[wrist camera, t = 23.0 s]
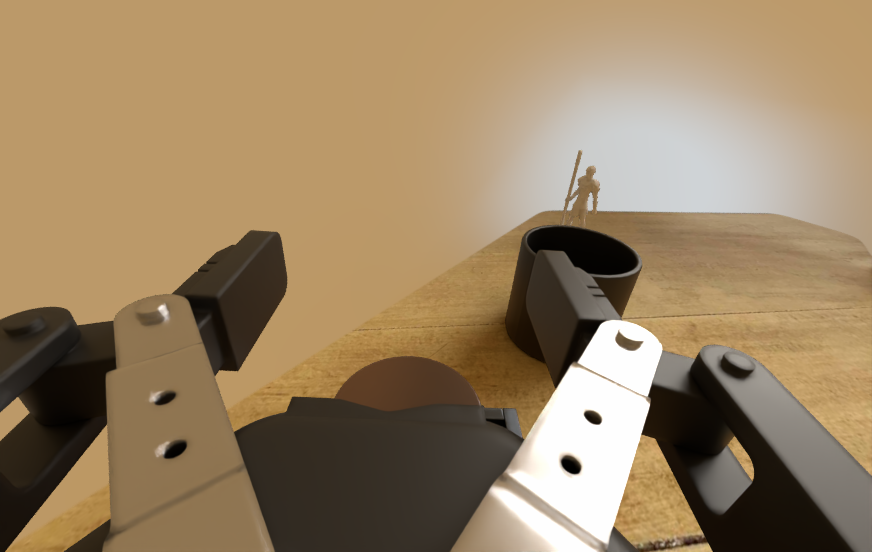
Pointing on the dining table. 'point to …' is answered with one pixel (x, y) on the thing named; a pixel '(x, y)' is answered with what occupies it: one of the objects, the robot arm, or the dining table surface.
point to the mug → (585, 250)
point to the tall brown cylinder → (407, 385)
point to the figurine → (581, 195)
